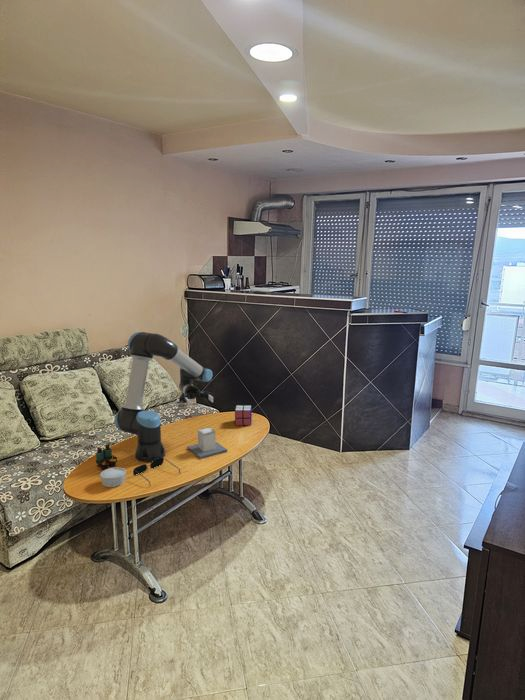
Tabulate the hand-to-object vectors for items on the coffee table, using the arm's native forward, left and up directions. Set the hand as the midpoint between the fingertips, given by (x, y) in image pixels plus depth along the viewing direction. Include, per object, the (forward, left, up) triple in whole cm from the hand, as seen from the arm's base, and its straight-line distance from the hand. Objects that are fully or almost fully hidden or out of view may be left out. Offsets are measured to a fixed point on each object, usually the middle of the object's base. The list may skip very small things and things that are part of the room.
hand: (200, 401), depth 240 cm
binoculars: (-52, 0, -25) cm, 57 cm away
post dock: (-2, -10, -25) cm, 26 cm away
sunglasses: (-35, -21, -25) cm, 48 cm away
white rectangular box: (-2, -10, -23) cm, 25 cm away
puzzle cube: (+36, +14, -25) cm, 46 cm away
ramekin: (-54, -18, -25) cm, 62 cm away
